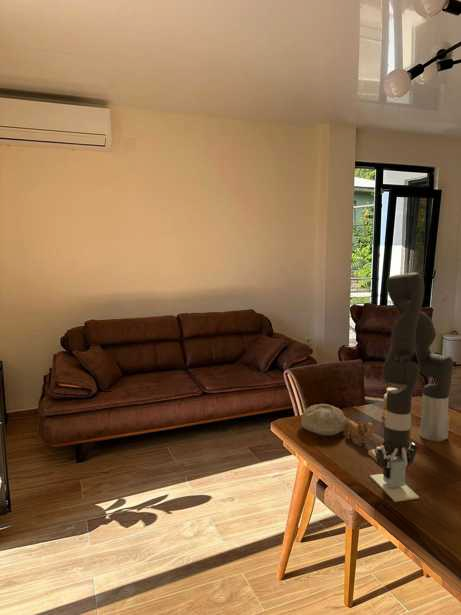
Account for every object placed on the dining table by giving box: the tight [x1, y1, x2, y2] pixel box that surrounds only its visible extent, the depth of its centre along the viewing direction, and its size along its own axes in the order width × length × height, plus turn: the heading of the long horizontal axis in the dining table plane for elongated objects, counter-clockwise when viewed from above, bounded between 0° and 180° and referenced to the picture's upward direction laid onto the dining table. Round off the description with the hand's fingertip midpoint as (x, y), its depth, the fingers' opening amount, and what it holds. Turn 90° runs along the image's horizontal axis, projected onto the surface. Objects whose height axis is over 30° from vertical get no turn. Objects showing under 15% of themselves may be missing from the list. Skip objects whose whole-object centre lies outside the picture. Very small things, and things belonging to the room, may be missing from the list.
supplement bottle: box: [382, 387, 397, 418], centre depth 189 cm, size 7×7×13 cm
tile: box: [369, 473, 420, 503], centre depth 135 cm, size 8×14×1 cm, turn 12°
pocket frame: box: [367, 448, 385, 462], centre depth 153 cm, size 10×9×2 cm
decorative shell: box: [300, 403, 347, 437], centre depth 175 cm, size 18×18×10 cm
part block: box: [383, 455, 407, 487], centre depth 134 cm, size 4×4×8 cm
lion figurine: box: [340, 420, 376, 447], centre depth 166 cm, size 15×5×9 cm, turn 36°
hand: (394, 476), depth 134 cm, fingers closed on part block, 4 cm apart
